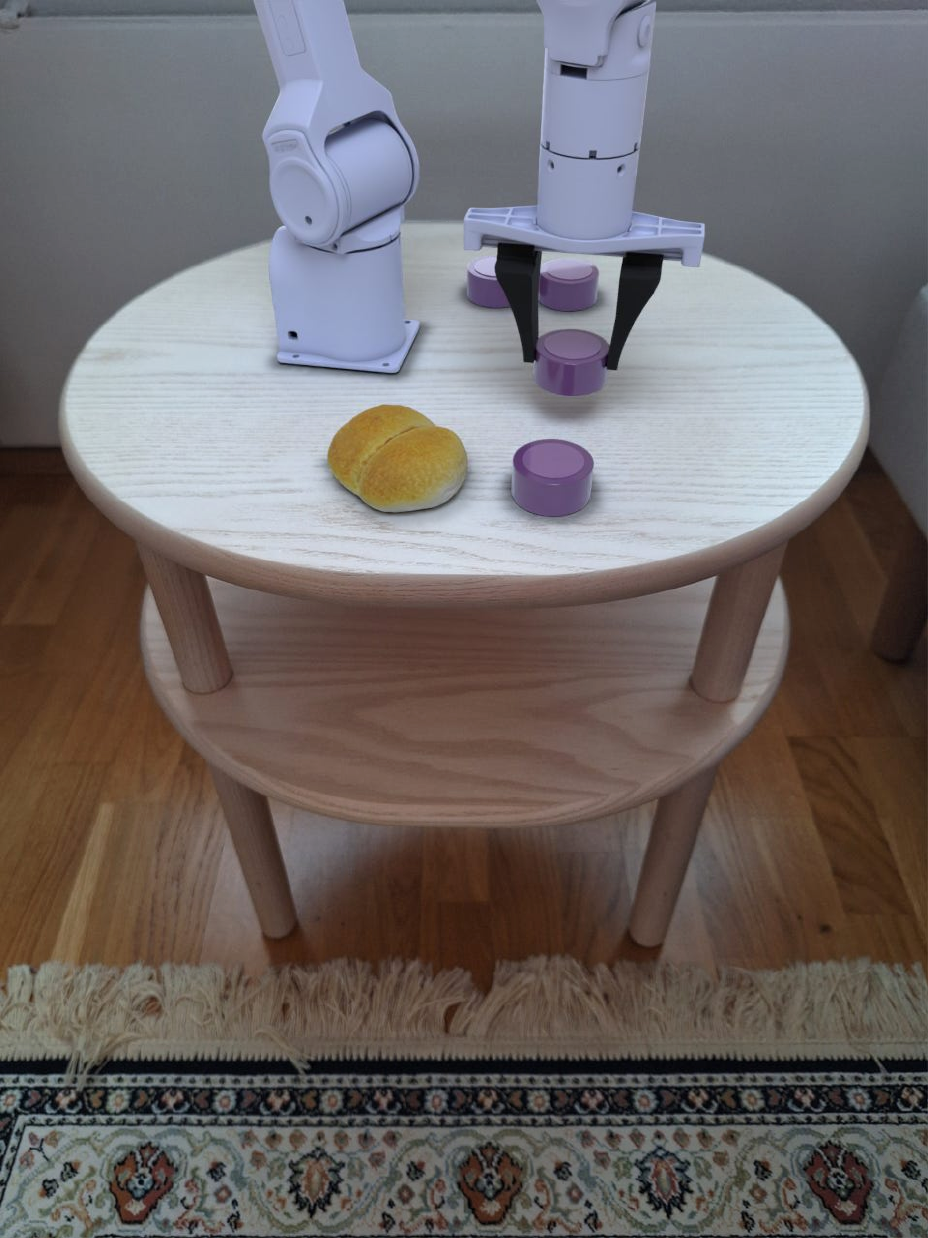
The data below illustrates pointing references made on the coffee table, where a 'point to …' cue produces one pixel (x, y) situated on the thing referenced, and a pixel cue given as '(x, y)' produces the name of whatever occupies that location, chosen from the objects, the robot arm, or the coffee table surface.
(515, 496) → the plum dish front
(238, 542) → the coffee table surface
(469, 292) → the purple short cylinder
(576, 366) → the plum dish
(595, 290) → the plum dish
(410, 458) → the bread roll
